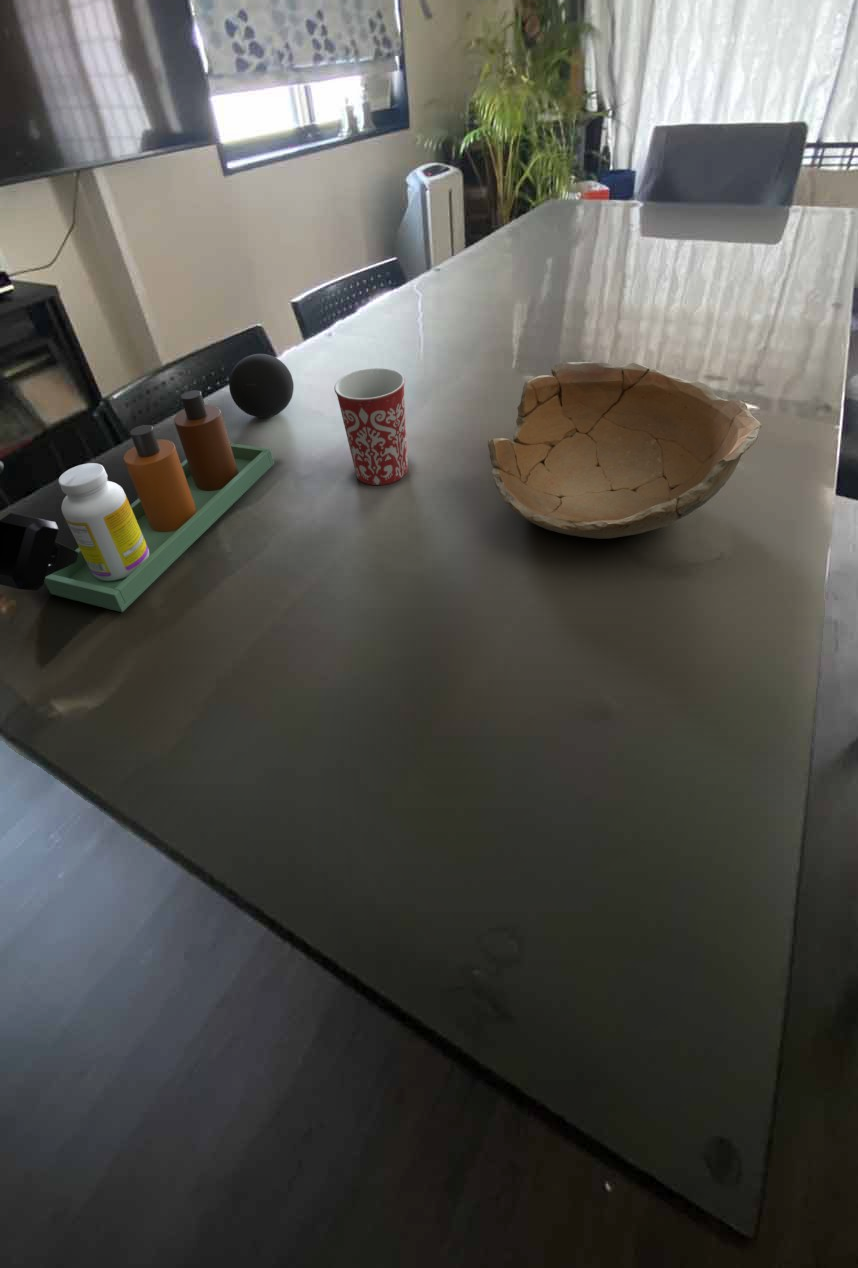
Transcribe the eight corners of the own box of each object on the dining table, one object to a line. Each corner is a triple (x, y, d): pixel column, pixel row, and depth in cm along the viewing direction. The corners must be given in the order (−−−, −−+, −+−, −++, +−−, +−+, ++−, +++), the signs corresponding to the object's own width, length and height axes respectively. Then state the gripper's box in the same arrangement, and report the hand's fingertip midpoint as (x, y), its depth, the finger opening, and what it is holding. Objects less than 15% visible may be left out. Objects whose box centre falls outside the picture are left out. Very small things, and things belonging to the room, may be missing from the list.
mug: (409, 490, 90) (398, 397, 82) (342, 489, 91) (326, 398, 84) (423, 442, 100) (414, 355, 92) (363, 442, 102) (349, 356, 94)
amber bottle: (177, 535, 85) (144, 445, 77) (139, 528, 87) (103, 439, 79) (206, 508, 89) (177, 420, 82) (170, 501, 91) (138, 415, 84)
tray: (122, 612, 75) (114, 595, 73) (50, 594, 78) (41, 577, 77) (274, 464, 98) (270, 448, 97) (213, 455, 102) (209, 440, 100)
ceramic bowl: (440, 506, 83) (448, 388, 76) (548, 443, 103) (562, 345, 95) (682, 604, 68) (721, 467, 61) (755, 509, 87) (791, 397, 80)
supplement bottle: (151, 541, 84) (115, 452, 77) (150, 574, 79) (112, 482, 72) (95, 555, 83) (52, 465, 75) (89, 589, 78) (44, 497, 70)
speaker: (250, 435, 106) (234, 375, 100) (229, 412, 113) (213, 355, 108) (308, 415, 110) (296, 357, 104) (284, 394, 117) (272, 338, 112)
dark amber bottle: (222, 493, 92) (195, 407, 84) (186, 487, 94) (157, 402, 86) (247, 470, 96) (223, 386, 89) (212, 465, 98) (186, 382, 91)
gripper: (-9, 444, 53) (133, 486, 68) (-161, 419, 60) (-1, 462, 74) (-50, 584, 52) (104, 596, 67) (-201, 544, 58) (-30, 563, 73)
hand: (42, 549), depth 70 cm, fingers open, 9 cm apart
